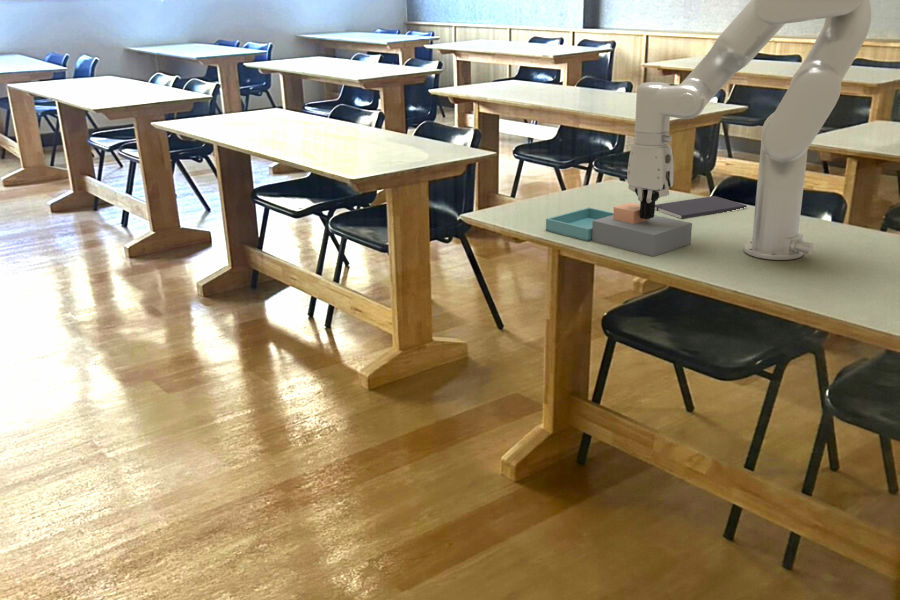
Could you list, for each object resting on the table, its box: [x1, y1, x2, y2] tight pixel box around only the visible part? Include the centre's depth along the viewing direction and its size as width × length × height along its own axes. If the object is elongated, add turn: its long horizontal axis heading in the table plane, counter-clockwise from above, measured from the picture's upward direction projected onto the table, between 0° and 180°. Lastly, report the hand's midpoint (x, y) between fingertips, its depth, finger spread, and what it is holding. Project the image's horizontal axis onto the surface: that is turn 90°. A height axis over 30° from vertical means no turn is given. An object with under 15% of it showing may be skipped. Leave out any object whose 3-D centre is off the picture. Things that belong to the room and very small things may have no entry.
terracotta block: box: [612, 202, 649, 224], centre depth 205 cm, size 6×6×3 cm
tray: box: [545, 207, 613, 242], centre depth 216 cm, size 14×16×3 cm
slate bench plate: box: [591, 214, 693, 257], centre depth 204 cm, size 18×14×5 cm
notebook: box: [655, 195, 747, 220], centre depth 232 cm, size 13×2×21 cm
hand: (646, 217), depth 201 cm, fingers closed
